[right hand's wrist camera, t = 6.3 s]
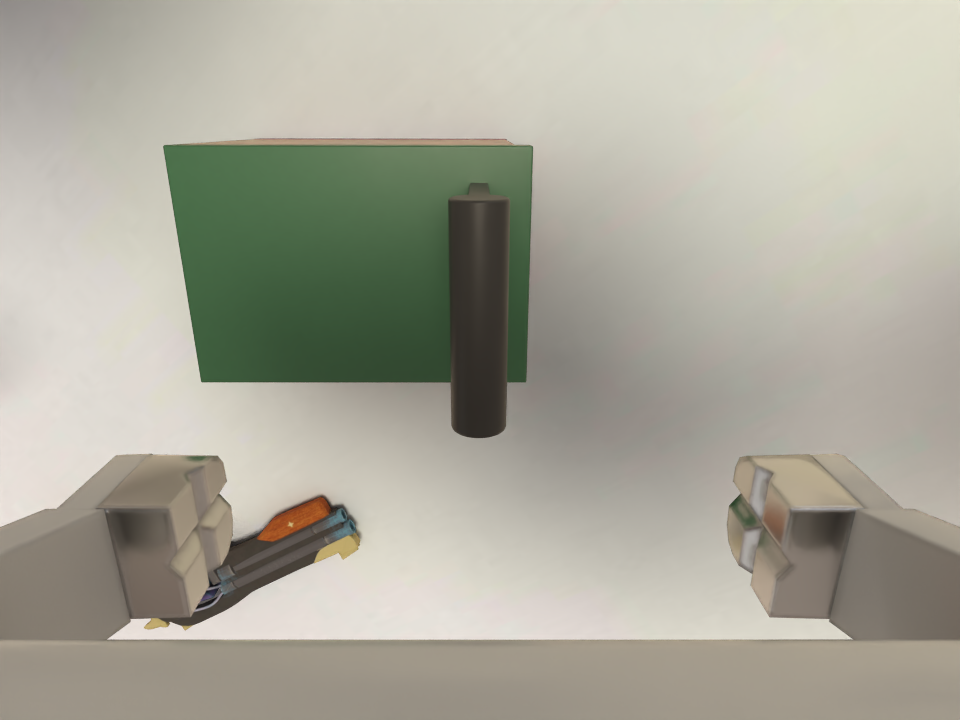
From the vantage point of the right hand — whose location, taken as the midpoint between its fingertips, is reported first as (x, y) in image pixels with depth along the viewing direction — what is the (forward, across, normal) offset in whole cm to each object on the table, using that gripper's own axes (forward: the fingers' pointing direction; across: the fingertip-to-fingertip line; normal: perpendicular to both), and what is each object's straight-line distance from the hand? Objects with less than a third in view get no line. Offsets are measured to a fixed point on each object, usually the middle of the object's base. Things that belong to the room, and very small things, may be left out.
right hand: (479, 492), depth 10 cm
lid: (+18, +5, 0) cm, 18 cm away
